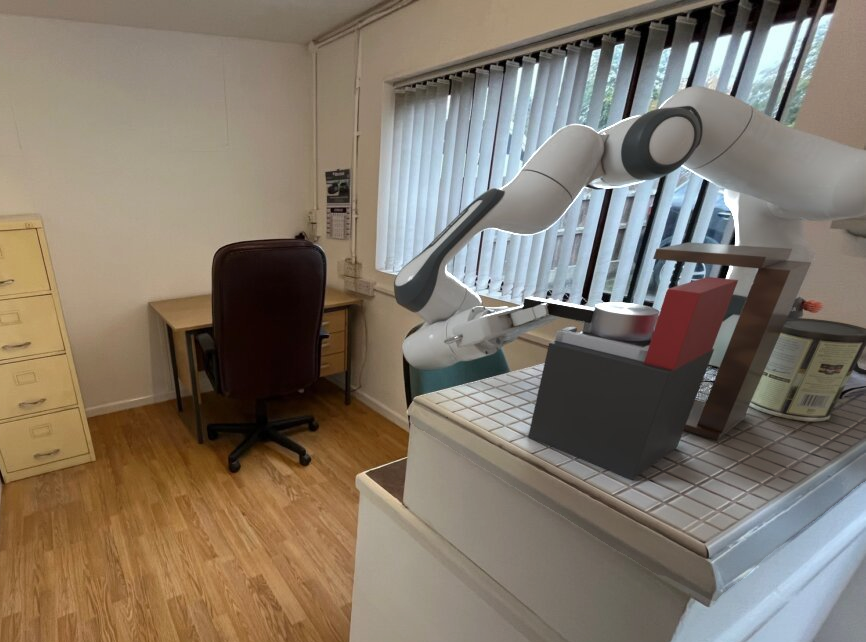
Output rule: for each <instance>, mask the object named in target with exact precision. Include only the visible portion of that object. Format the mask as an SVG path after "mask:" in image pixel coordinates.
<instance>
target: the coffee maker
mask: <svg viewBox="0 0 866 642" xmlns="http://www.w3.org/2000/svg"><path fill="white" fill-rule="evenodd" d="M737 282H738V280H733V279H726V278H724V277H723V278H722V277H712V276H706V277H702V278H699V279H696V280H692V281H689V282H687V283H683V284H679V285H677V286H673V287H669V288H667V289H666V292H665V295H664V299H663V303H662V305H661V307H660V311H659V315H658V316H659V317H658V320H657V324H656V327H655V329H654V331H653V334H652V337H651V339H649V340H646V341H620V340H613V339H608V338H604V337H600V336H597V335H594V334H592V333H591V332H590V331H589V328H590V324H591V323H587V322H583V327H582V331H580V332H578V327H575V326H567V327H564V328H561V329H558V330H557V331H556V334H555V339H554V340H553V341H550V342H549V343H548V347H547V350H546V356H545V360H544V364H543V369H542V372H541V373H542V374H541V378H540V382H539V386H538V391H537V395H536V400H535V405H534V408H533V412H532V413H533V414H532V417H531V422H530V426H529V431H528V436H527V437H528V438H530V439H533V440H535V441H538V442H540V443H542V444H544V445H547V446H549V447H552V448H554V449H557V450H559V451H562V452H564V453H566V454H569V455H571V456H573V457H576V458H578V459H581V460H583V461H585V462H588V463H590V464H592V465H594V466H597V467H600V468H602V469H604V470H606V471H609V472H611V473H613V474H616V475H618V476H621V477H623V478H626V479H628V480H631V481H633V480H634V479H636V478H638V477H639V476H640V475H642V474H643V473H645V472H646V471H647V470H648V469H650V468H651V467H653V466H654V465H655V464H656V463H658V462H660V461H662V459H664V458H665V457H666V456H668V455H669V454H670V453H672V452H673V451H674V450H676V449H677V448H678V446H679V443H680V441H681V438H682V435H683V433H684V431H685V430H684V428H685V425H686V422H687V420H688V417H689V415H690V412H691V409H692V407H693V404H694V401H695V399H696V400H697V396H698V393H699V391H700V389H701V385H702V383H703V381H704V377H705V375H706V372H707V370H708V368H709V366H710V365H709V362H710V359H711V357H712V354H713V351H714V349H712V348H713V346H714V343H715V340H716V338H717V335H718V332H719V330H720V327H721V324H722V322H723V319H724V317H725V314H726V311H727V309H728V306H729V303H730V301H731V298H732V295H733V293H734V290H735V287H736V285H737Z"/></svg>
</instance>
